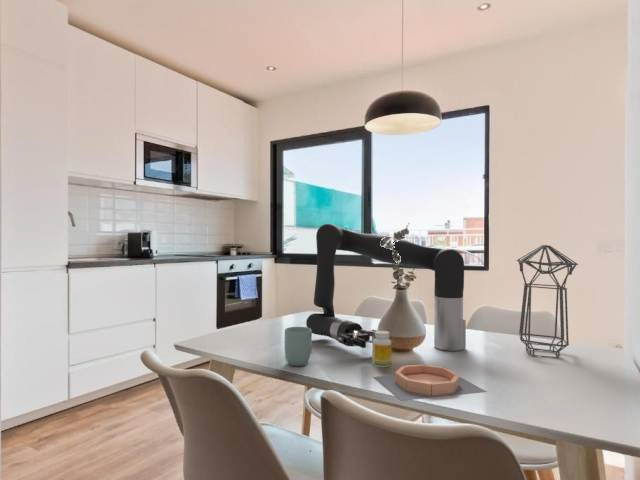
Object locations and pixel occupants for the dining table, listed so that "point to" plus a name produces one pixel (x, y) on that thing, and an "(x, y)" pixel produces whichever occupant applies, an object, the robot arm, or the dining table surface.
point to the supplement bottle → (381, 349)
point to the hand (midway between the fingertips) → (376, 342)
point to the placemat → (403, 394)
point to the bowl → (427, 379)
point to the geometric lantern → (550, 264)
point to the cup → (298, 345)
